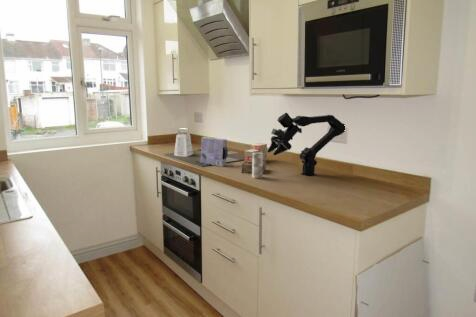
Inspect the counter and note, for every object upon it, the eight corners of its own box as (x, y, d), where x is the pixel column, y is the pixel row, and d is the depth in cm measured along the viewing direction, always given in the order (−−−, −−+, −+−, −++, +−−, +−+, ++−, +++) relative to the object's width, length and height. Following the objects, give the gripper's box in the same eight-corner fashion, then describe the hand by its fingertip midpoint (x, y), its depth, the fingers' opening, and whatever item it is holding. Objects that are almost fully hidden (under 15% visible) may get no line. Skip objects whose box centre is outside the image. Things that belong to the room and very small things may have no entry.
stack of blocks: (252, 165, 228) (252, 147, 226) (244, 164, 231) (244, 146, 229) (266, 160, 246) (267, 143, 244) (258, 159, 249) (259, 142, 247)
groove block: (265, 169, 217) (266, 161, 216) (263, 174, 205) (263, 165, 204) (245, 168, 219) (245, 160, 218) (241, 172, 208) (241, 164, 207)
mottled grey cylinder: (260, 176, 199) (260, 152, 196) (262, 177, 196) (262, 153, 193) (251, 176, 198) (252, 152, 195) (253, 178, 194) (254, 153, 192)
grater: (186, 156, 256) (186, 129, 252) (174, 155, 259) (173, 128, 256) (192, 154, 266) (192, 128, 262) (180, 153, 269) (180, 127, 265)
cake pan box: (228, 165, 227) (228, 138, 223) (223, 167, 223) (223, 139, 219) (204, 162, 237) (204, 136, 234) (200, 163, 233) (200, 137, 230)
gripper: (274, 122, 204) (256, 141, 203) (286, 125, 186) (266, 146, 185) (286, 135, 207) (268, 154, 207) (299, 139, 190) (280, 160, 189)
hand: (270, 153), depth 197 cm, fingers open, 9 cm apart
